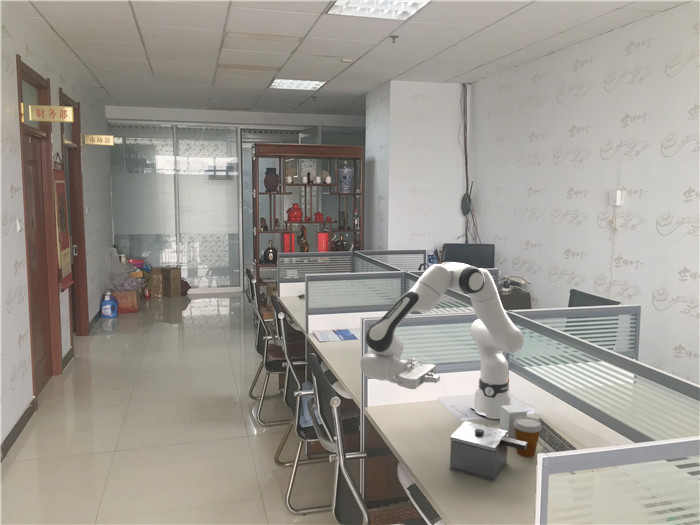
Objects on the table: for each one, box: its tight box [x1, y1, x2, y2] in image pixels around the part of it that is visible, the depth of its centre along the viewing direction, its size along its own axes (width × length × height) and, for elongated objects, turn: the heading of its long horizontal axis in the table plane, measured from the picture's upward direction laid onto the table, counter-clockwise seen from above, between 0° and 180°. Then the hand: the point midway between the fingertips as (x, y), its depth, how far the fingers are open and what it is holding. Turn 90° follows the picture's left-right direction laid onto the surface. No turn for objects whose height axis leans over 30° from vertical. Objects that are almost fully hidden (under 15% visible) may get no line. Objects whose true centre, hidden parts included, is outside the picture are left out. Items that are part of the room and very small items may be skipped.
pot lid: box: [449, 420, 527, 451], centre depth 189 cm, size 15×23×2 cm, turn 60°
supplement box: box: [498, 404, 528, 439], centre depth 212 cm, size 7×7×13 cm
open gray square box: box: [449, 435, 509, 483], centre depth 192 cm, size 15×15×10 cm
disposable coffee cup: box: [514, 416, 543, 459], centre depth 201 cm, size 10×10×12 cm
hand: (438, 379), depth 196 cm, fingers closed
